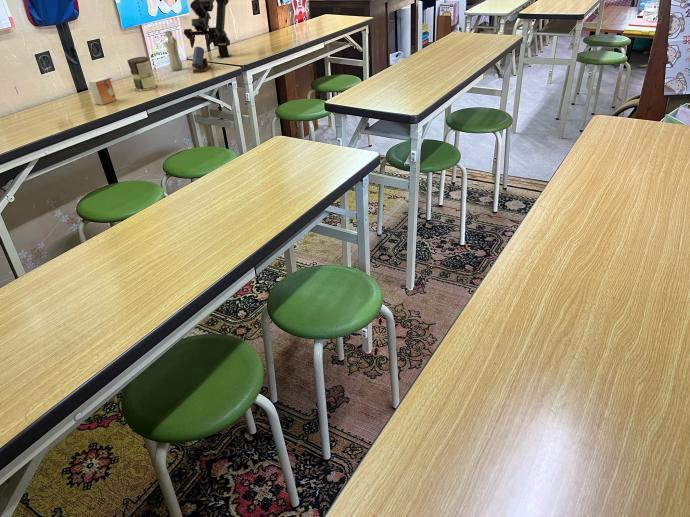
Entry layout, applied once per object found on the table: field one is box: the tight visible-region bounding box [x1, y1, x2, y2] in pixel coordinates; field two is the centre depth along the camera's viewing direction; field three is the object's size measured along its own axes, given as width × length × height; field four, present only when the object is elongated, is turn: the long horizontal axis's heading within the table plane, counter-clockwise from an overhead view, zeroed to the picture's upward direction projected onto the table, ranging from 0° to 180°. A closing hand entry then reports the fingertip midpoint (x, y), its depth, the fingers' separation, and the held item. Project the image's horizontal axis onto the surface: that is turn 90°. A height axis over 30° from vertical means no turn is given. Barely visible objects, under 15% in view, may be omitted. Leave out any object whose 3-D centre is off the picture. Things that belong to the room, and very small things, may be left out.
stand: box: [192, 57, 212, 73], centre depth 283 cm, size 8×7×6 cm
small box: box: [88, 77, 117, 106], centre depth 242 cm, size 8×6×10 cm
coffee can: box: [126, 56, 157, 92], centre depth 258 cm, size 10×10×14 cm
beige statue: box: [164, 30, 183, 71], centre depth 285 cm, size 6×7×20 cm
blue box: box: [191, 46, 205, 69], centre depth 279 cm, size 11×5×11 cm, turn 169°
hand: (199, 47), depth 280 cm, fingers open, 9 cm apart
